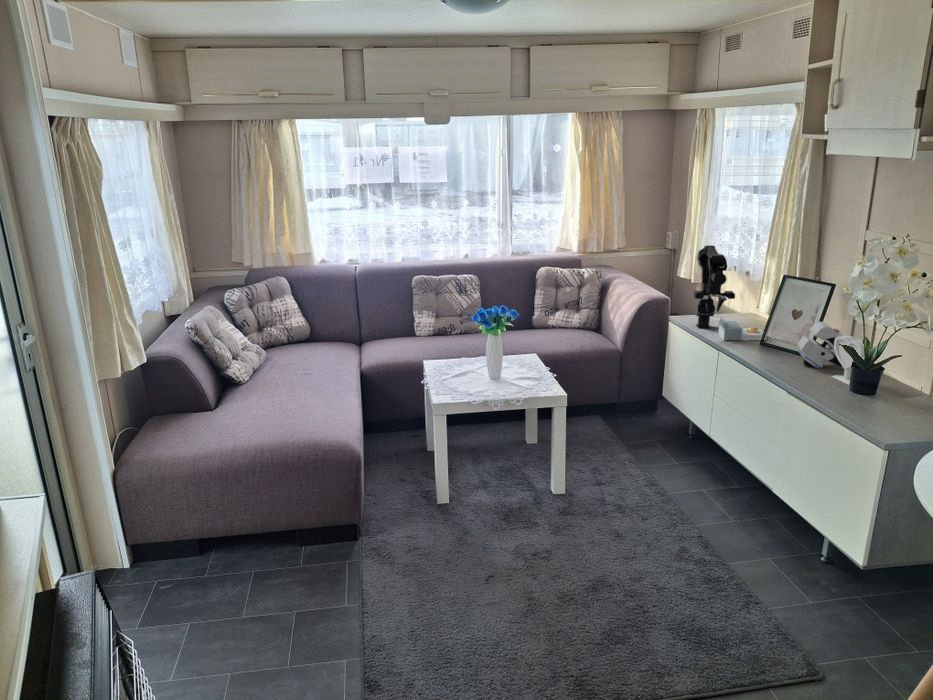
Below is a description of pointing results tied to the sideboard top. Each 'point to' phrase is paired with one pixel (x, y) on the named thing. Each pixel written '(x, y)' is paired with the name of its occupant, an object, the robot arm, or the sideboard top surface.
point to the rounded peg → (753, 329)
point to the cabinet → (731, 330)
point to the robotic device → (819, 346)
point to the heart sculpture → (847, 355)
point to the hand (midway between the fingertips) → (712, 311)
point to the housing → (744, 334)
